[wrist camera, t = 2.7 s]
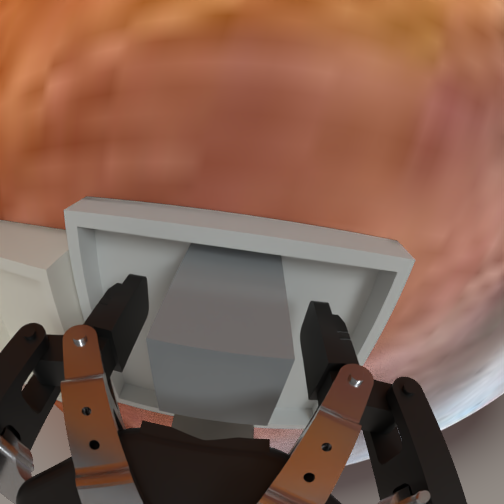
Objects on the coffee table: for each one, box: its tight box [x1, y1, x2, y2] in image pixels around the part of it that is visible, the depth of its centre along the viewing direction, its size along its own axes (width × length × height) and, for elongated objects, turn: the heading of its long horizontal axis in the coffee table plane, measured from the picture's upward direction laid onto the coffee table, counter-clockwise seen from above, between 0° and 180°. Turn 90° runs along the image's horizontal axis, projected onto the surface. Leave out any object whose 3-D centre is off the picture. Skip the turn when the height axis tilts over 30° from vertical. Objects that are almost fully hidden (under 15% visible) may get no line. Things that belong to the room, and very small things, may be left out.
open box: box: [0, 220, 84, 402], centre depth 13 cm, size 12×12×4 cm
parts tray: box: [64, 197, 415, 429], centre depth 14 cm, size 15×14×2 cm
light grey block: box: [172, 414, 254, 440], centre depth 14 cm, size 4×4×6 cm
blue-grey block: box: [146, 243, 295, 426], centre depth 10 cm, size 4×4×6 cm
